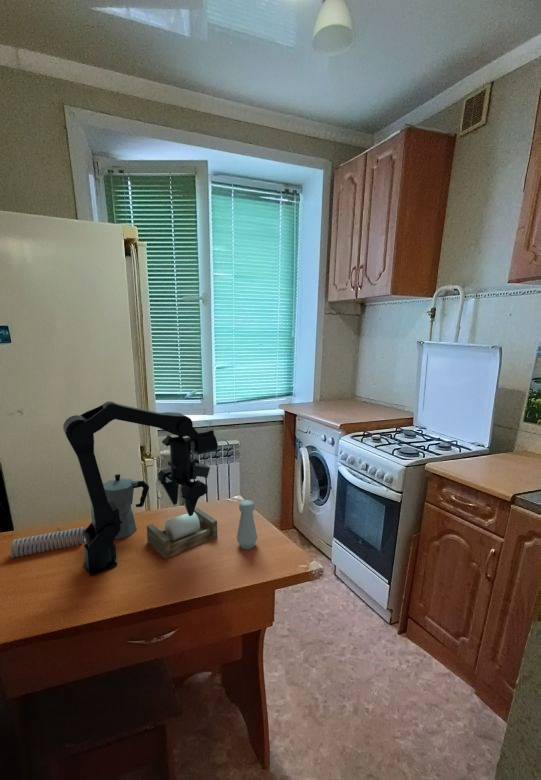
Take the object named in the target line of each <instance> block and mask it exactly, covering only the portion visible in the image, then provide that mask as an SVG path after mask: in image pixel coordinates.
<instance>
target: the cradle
mask: <svg viewBox="0 0 541 780" xmlns="http://www.w3.org/2000/svg"><path fill="white" fill-rule="evenodd" d="M194 512H195V513H196V515H197V516H198V519H199V522H200V529H199V531H198V532H196V533H193V534H191V535H188V536H186V537H183V538H181V539H178V540H176V541H173V542H171V541H170V539H169V538H168V537H167V535H166V532H165V528H162V529H159V528H158V527H157V526H155V525H154V524H153V523H149V524H148V525H146V536H147V537H146V540H147V543H148V544H149V545H150V546H151V547H152V548H153V549H154V550H155V551H157V553H158V554H159V555H160V556H161V557H162V558H163V559H165V560H167V559H168V558H170V557H173V556H175V555H178V554H180V553H182V552H185V551H187V550H190V549H191V548H194V547H196V546H198V545H201V544H203V543H207V542H208V541H211V540H213V539H215V538H217V537H218V520H217V519H215V518H214V517H212V516H211V515H209V514H208V513H206V512H205V511H203V510H202V509H200V508H198V507H195V510H194Z"/></svg>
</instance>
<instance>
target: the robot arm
mask: <svg viewBox="0 0 541 780" xmlns="http://www.w3.org/2000/svg"><path fill="white" fill-rule="evenodd" d="M114 420H117V421H121V422H122V421H123V422H128V423H132V424H136V425H137V424H138V425H142V426H146V427H147V426H149V427H153V428H156V429H157V428H158V429H161V430H163V431H164V432H167V433H169V434H167V436H166V437H165V438H164V439H162V441H161V443H162V444H163V445H164V446H166V447H169V455H170V456H169V457H170V460H169V461H168V460H167V466H169V467H168V468H164V469H160V471H158V473H157V479H158V481H160V484H161V485H162V488H163V489H164V490H165V492H166V494H167V495H168V496H167V497H169V499H170V501H171V504H173V506H175V505H177V504H178V499H179V485H180V486H182V487H181V488H180V490H181V491H180V492H181V494H182V495H180V496H181V499H182V502H183V505H184V508H185V509H186V514H187V513H188V515H189V516H192V515H193V513H194V510H195V509H196V508H197V507H196V506H197V503H198V501H199V499H200V498H201V497H203V496H205V495H206V494H208V493H209V491H208V490H209V488H208V487H209V486H208V484H206V483H205V482H203V481H200V480H198V479H197V477H201V478H205V479H207V478H208V477H209V474H210V470H211V467H210V466H208V465H206V464H205V463H201V462H200V460H199V459H197V458H193V457H192V453H194V454H195V455H196V456H201V455H204V454H205V455H206V454H210V453H215V452H216V451H217V450H218V446H219V443H218V441H217V437H216V435H215V431H214V430H213V429H212V428H208V429H205V430H200V431H197V430H196V429H195V428H194V424H193V420H192V418H190V416H189V417H188V416H186V415H184V414H182V413H180V412H168V411H166V412H158V411H157V412H156V411H153V410H147V409H143V408H138V407H134V406H129V405H124V404H120V403H116V402H114V401H109V400H108V401H106V402H104V403H103V404H101V405H99V406H97V407H94V408H92V409H90V410H87V411H85V412H84V413H82V414H79V415H78V414H77V415H76V414H75V415H72V416H70V417H68V418H67V419H66V420H65V421H64V423H63V425H62V428H63V432H64V435H65V436H66V439H67V440H68V442H69V444H70V446H71V448H72V449H73V452H74V453H75V455H76V457H77V461H78V463H79V467H80V470H81V473H82V474H81V475H82V477H83V480H84V483H85V487H86V490H87V494H88V497H89V501H90V504H91V505H90V515H91V516H90V517H91V522H90V524H89V525H88V526H87V527H86V529H85V528H84V529H85V531H84V532H83V533H84V536H85V539H86V543H84V545H83V549H84V550H83V551H84V561H83V567H84V568H85V570H86V572H87V573H88V575H89V576H91V577H92V576H94V575H97V574H100V573H102V572H105V571H107V570H109V569H112V568H115V567H117V566H118V562H117V561H116V560H117V546H116V544H115V543H114V542H115V540H116V539H115V537H116V536H117V535H118V533H119V532H120V529H121V527H120V524H122V523H123V522H122V520H121V519H120V517H119V509H118V507H117V506H116V504H115V502H114V501H112V502H110V503H108V500H107V496H106V493H105V489H104V486H103V483H104V482H103V480H102V476H101V472H100V469H99V466H98V462H97V459H96V456H95V455H96V454H95V435H94V434H96V433H97V432H99V431H101V430H102V429H103V428H104V427H106V426H107V425H108V424H109V423H111V422H112V421H114ZM170 434H173V435H174V436H171V435H170ZM195 479H197V480H195ZM191 480H194V481H191Z"/></svg>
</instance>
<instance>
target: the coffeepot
mask: <svg viewBox="0 0 541 780" xmlns="http://www.w3.org/2000/svg"><path fill="white" fill-rule="evenodd" d="M103 486H104V489H105V493H106V496H107V500H108V503H110V502H112V501H114V502H115V504H116V506H117V507H118V509H119V517H120V519H121V520H122V522H123V523H122V524H120V527H121V529H120V532H119V533H118V535H117V536H116V537H115V539H114V540H117V539H124V538H127V537H130V536H131V535H132V534H134V533H135V532H136V530H137V525H136V521H135V517H134V513H133V510H132V509H133V508H132V505H133V501H134V499H133V498H134V491H135V489H138V488H142V491H141V496H140V498H139V503H138V504H137V503H135V508H143V506H144V504H145V501H146V497H147V496H148V492H149V489H150V486H149V484H148V483H146V482H145V481H144V480H133V479H131V478H124V477H121V474H119V473H117V474H114V479H111V480H108V481H106V482H103Z"/></svg>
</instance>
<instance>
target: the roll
mask: <svg viewBox="0 0 541 780" xmlns="http://www.w3.org/2000/svg"><path fill="white" fill-rule="evenodd" d="M164 529H165V532H166V535H167V537H168V538H169V539H170V541H171V542H173V541H176V540H178V539H181V538H183V537H186V536H188V535H191V534H193V533H196V532H198V531H199V529H200V522H199V519H198V516H197V515H196V513H195V512H194V513H193V515H192V516H189V515H188V513H187V512H186V513H185V514H181V515H179V516H175V517H173V518H169V519H168V520H167V519H166V521H165V522H164Z"/></svg>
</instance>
